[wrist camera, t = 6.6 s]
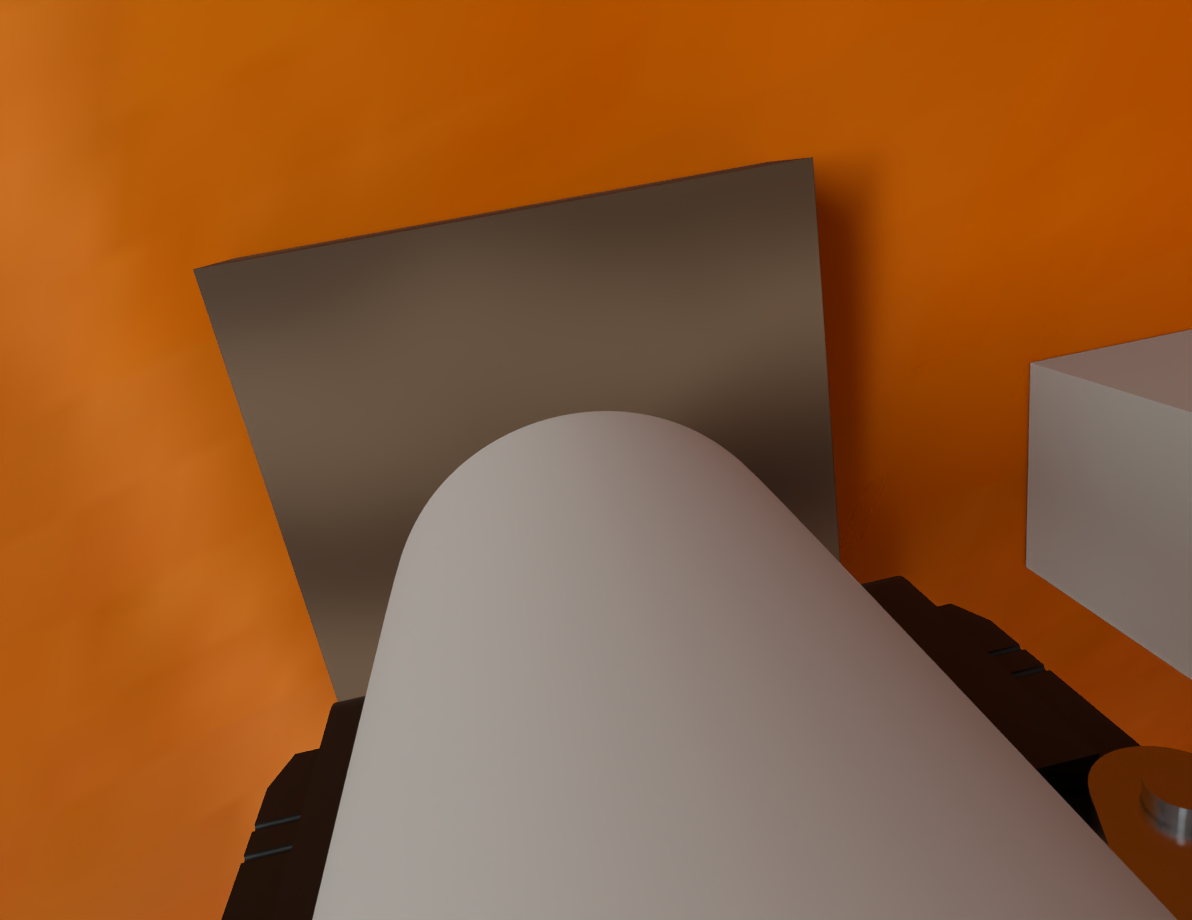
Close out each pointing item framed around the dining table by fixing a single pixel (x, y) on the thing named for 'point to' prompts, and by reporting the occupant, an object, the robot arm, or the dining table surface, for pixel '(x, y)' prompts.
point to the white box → (1117, 487)
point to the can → (675, 717)
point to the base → (520, 360)
